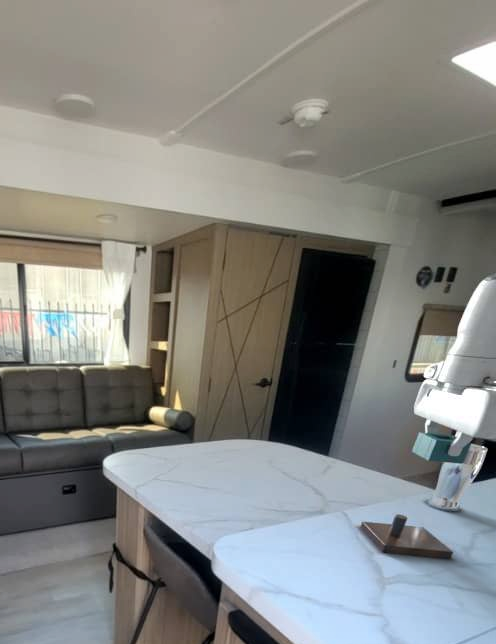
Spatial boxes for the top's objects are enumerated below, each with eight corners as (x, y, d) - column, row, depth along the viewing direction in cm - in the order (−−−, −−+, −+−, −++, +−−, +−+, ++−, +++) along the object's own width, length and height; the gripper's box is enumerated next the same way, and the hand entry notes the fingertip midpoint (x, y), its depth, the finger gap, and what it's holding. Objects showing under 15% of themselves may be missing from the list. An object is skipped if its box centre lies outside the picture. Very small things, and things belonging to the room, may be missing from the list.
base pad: (420, 533, 84) (430, 509, 82) (450, 558, 75) (462, 532, 73) (360, 527, 85) (368, 504, 83) (382, 552, 76) (392, 526, 74)
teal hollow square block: (443, 454, 81) (451, 434, 79) (462, 463, 76) (471, 443, 74) (411, 451, 82) (419, 432, 80) (428, 460, 76) (436, 440, 75)
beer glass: (433, 509, 96) (459, 448, 89) (420, 498, 102) (444, 440, 95) (466, 514, 94) (496, 452, 88) (451, 502, 100) (478, 443, 94)
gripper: (537, 383, 62) (495, 468, 68) (454, 369, 81) (427, 437, 87) (493, 380, 63) (455, 464, 69) (421, 366, 81) (396, 434, 87)
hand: (439, 449), depth 78 cm, fingers closed on teal hollow square block, 6 cm apart
